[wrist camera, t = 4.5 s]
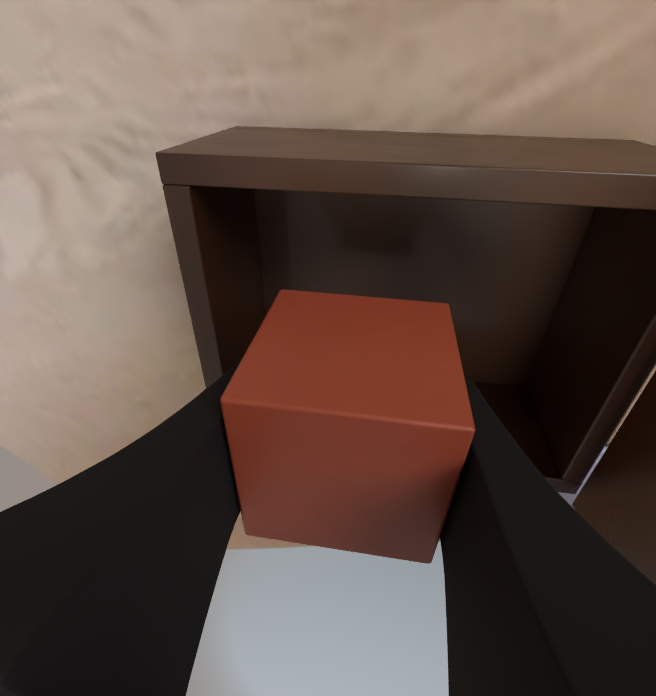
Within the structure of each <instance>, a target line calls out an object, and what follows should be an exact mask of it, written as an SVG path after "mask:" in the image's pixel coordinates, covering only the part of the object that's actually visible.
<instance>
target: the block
mask: <svg viewBox="0 0 656 696" xmlns="http://www.w3.org/2000/svg"><path fill="white" fill-rule="evenodd" d="M220 403H221V408H222V414H223V419H224V424H225V430H226V435H227V440H228V445H229V451H230V456H231V461H232V467H233V472H234V477H235V483H236V488H237V493H238V499H239V504H240V509H241V514H242V520H243V525H244V530H245V534H247V535H250V536H256V537H263V538H269V539H275V540H282V541H288V542H294V543H301V544H307V545H313V546H320V547H327V548H333V549H339V550H346V551H351V552H358V553H364V554H371V555H377V556H383V557H390V558H396V559H402V560H409V561H415V562H421V563H431V561H432V559H433V556H434V553H435V550H436V547H437V543H438V541H439V538H440V535H441V532H442V529H443V526H444V523H445V520H446V517H447V514H448V511H449V508H450V505H451V502H452V499H453V496H454V493H455V490H456V487H457V484H458V481H459V478H460V475H461V472H462V469H463V466H464V463H465V460H466V457H467V454H468V451H469V448H470V445H471V442H472V439H473V436H474V433H475V425H474V421H473V416H472V411H471V407H470V402H469V397H468V392H467V388H466V383H465V378H464V373H463V369H462V364H461V359H460V355H459V350H458V345H457V340H456V336H455V331H454V326H453V322H452V317H451V312H450V307H449V304H447V303H438V302H426V301H414V300H402V299H391V298H379V297H367V296H355V295H344V294H332V293H320V292H308V291H297V290H285V289H282V290H280V291H279V293H278V295H277V297H276V299H275V300H274V302H273V304H272V306H271V308H270V309H269V311H268V313H267V315H266V317H265V319H264V320H263V322H262V324H261V326H260V328H259V329H258V331H257V333H256V335H255V337H254V338H253V340H252V342H251V344H250V346H249V348H248V349H247V351H246V353H245V355H244V357H243V358H242V360H241V362H240V364H239V366H238V367H237V369H236V371H235V373H234V375H233V376H232V378H231V380H230V382H229V384H228V386H227V387H226V389H225V391H224V393H223V395H222V396H221V399H220Z"/></svg>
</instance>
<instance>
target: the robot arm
mask: <svg viewBox="0 0 656 696" xmlns="http://www.w3.org/2000/svg"><path fill="white" fill-rule="evenodd" d="M241 360H242V359H241ZM241 360H240V361H239V362H237V363H236V364H235V365H234V366H233V367H231V368H230V369H229V370H228V371H227V372H226V373H224V374H223V375H222V376H221V377H220V378H219V379H217V380H216V381H215V382H214V383H213V384H211V385H210V386H209V387H208V388H207V389H205V390H204V391H203V392H202V393H200V394H199V395H198V396H197V397H196V398H194V399H193V400H192V401H191V402H189V403H188V404H187V405H185V406H184V407H183V408H181V409H180V410H179V411H177V412H176V413H175V414H173V415H172V416H171V417H169V418H168V419H167V420H165V421H164V422H163V423H161V424H160V425H158V426H157V427H156V428H154V429H153V430H151V431H150V432H148V433H147V434H145V435H144V436H142V437H141V438H139V439H138V440H136V441H134V442H133V443H131V444H129V445H128V446H126V447H125V448H123V449H121V450H120V451H118V452H117V453H115V454H113V455H112V456H110V457H108V458H106V459H105V460H103V461H101V462H99V463H97V464H95V465H94V466H92V467H90V468H88V469H86V470H84V471H83V472H81V473H79V474H77V475H75V476H73V477H72V478H70V479H68V480H66V481H64V482H62V483H60V484H58V485H56V486H54V487H52V488H50V489H48V490H46V491H44V492H42V493H40V494H38V495H36V496H34V497H32V498H30V499H28V500H25V501H23V502H21V503H19V504H17V505H15V506H12V507H10V508H8V509H6V510H4V511H2V512H0V696H186V692H187V688H188V683H189V680H190V676H191V672H192V668H193V664H194V661H195V657H196V653H197V649H198V646H199V642H200V638H201V634H202V631H203V627H204V623H205V619H206V616H207V613H208V609H209V606H210V602H211V599H212V595H213V591H214V588H215V585H216V581H217V578H218V575H219V571H220V568H221V564H222V561H223V558H224V555H225V551H226V548H227V545H228V542H229V539H230V536H231V533H232V531H233V528H234V525H235V522H236V520H237V517H238V515H239V513H240V510H241V509H240V504H239V499H238V493H237V488H236V483H235V477H234V472H233V467H232V461H231V456H230V451H229V445H228V440H227V435H226V430H225V424H224V419H223V414H222V408H221V403H220V399H221V396H222V395H223V393H224V391H225V389H226V387H227V386H228V384H229V382H230V380H231V378H232V376H233V375H234V373H235V371H236V369H237V367H238V366H239V364H240V362H241ZM464 378H465V383H466V388H467V392H468V397H469V402H470V407H471V411H472V416H473V421H474V425H475V433H474V436H473V439H472V442H471V445H470V448H469V451H468V454H467V457H466V460H465V463H464V466H463V469H462V472H461V475H460V478H459V481H458V484H457V487H456V490H455V493H454V496H453V499H452V502H451V505H450V508H449V511H448V514H447V517H446V520H445V523H444V526H443V529H442V532H441V535H440V541H441V547H442V555H443V563H444V564H443V565H444V575H445V595H446V617H447V643H448V644H447V645H448V673H449V674H448V675H449V677H448V678H449V696H656V585H655V584H654V583H653V582H652V581H650V580H649V579H648V578H647V577H646V576H645V575H643V574H642V573H641V572H640V571H639V570H638V569H637V568H636V567H634V566H633V565H632V564H631V563H630V562H629V561H628V560H627V559H626V558H625V557H623V556H622V555H621V554H620V553H619V552H618V551H617V550H616V549H615V548H614V547H612V546H611V545H610V544H609V543H608V542H607V541H606V540H605V539H604V538H603V537H602V536H601V535H600V534H599V533H598V532H596V531H595V530H594V529H593V528H592V527H591V526H590V525H589V524H588V523H587V522H586V521H585V520H584V519H583V518H582V517H581V516H580V515H579V514H578V513H577V512H576V511H575V509H574V508H573V506H572V503H573V502H574V500H575V498H576V497H577V495H578V494H579V492H580V491H581V489H582V487H583V486H584V484H585V483H586V481H587V479H588V478H589V476H590V475H591V473H592V471H593V470H594V468H595V467H596V465H597V463H598V462H599V460H600V459H601V457H602V456H603V454H604V452H605V451H606V449H607V448H608V447H606V446H605V447H604V449H603V450H602V452H601V454H600V455H599V457H598V458H597V460H596V462H595V463H594V465H593V466H592V468H591V470H590V471H589V473H588V474H587V476H586V478H585V479H584V481H583V483H582V485H581V486H580V488H579V490H578V491H577V493H576V494H568V493H560V492H557V491H556V490H555V489H554V487H553V486H552V485H551V484H550V483H549V482H548V481H547V480H546V478H545V477H544V476H543V475H542V474H541V473H540V471H539V470H538V469H537V468H536V467H535V465H534V464H533V463H532V462H531V461H530V459H529V458H528V457H527V456H526V454H525V453H524V452H523V451H522V449H521V448H520V447H519V446H518V444H517V443H516V442H515V440H514V439H513V438H512V436H511V435H510V434H509V432H508V431H507V430H506V429H505V427H504V426H503V424H502V423H501V422H500V420H499V419H498V418H497V416H496V415H495V413H494V412H493V410H492V409H491V408H490V406H489V405H488V403H487V402H486V400H485V399H484V397H483V396H482V394H481V393H480V391H479V390H478V388H477V387H476V386H475V384H474V383H473V381H472V380H471V379H470V377H467V376H464Z"/></svg>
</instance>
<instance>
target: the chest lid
mask: <svg viewBox="0 0 656 696" xmlns="http://www.w3.org/2000/svg"><path fill="white" fill-rule="evenodd" d="M572 506H573V508H574V509H575V511H576V512H577V513H578V514H579V515H580V516H581V517H582V518H583V519H584V520H585V521H586V522H587V523H588V524H589V525H590V526H591V527H592V528H593V529H594V530H595V531H596V532H598V533H599V534H600V535H601V536H602V537H603V538H604V539H605V540H606V541H607V542H608V543H609V544H610V545H611V546H612V547H614V548H615V549H616V550H617V551H618V552H619V553H620V554H621V555H622V556H623V557H625V558H626V559H627V560H628V561H629V562H630V563H631V564H632V565H633V566H634V567H636V568H637V569H638V570H639V571H640V572H641V573H642V574H643V575H645V576H646V577H647V578H648V579H649V580H650V581H652V582H653V583H654V584H655V585H656V371H655V373H654V375H653V376H652V378H651V379H650V381H649V382H648V384H647V386H646V387H645V389H644V390H643V392H642V394H641V395H640V397H639V398H638V400H637V402H636V403H635V405H634V406H633V408H632V409H631V411H630V413H629V414H628V416H627V417H626V419H625V421H624V422H623V424H622V425H621V427H620V429H619V430H618V432H617V433H616V435H615V436H614V438H613V440H612V441H611V443H610V444H609V446H608V448H607V449H606V451H605V452H604V454H603V456H602V457H601V459H600V460H599V462H598V463H597V465H596V467H595V468H594V470H593V471H592V473H591V475H590V476H589V478H588V479H587V481H586V483H585V484H584V486H583V487H582V489H581V491H580V492H579V494H578V495H577V497H576V498H575V500H574V502H573V503H572Z"/></svg>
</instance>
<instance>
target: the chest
mask: <svg viewBox="0 0 656 696" xmlns="http://www.w3.org/2000/svg"><path fill="white" fill-rule="evenodd" d="M156 158H157V163H158V167H159V172H160V177H161V181H162V184H164V185H163V190H164V194H165V199H166V204H167V208H168V213H169V218H170V222H171V227H172V232H173V236H174V241H175V246H176V250H177V255H178V260H179V264H180V269H181V274H182V278H183V283H184V288H185V292H186V297H187V302H188V306H189V311H190V316H191V320H192V325H193V330H194V334H195V339H196V344H197V348H198V353H199V358H200V362H201V367H202V372H203V376H204V381H205V385H206V389H207V388H208V387H209V386H210V385H211V384H213V383H214V382H215V381H216V380H217V379H219V378H220V377H221V376H222V375H223V374H224V373H226V372H227V371H228V370H229V369H230V368H231V367H233V366H234V365H235V364H236V363H237V362H239V361H240V360H241V359H242V358H243V357H244V355H245V353H246V351H247V349H248V348H249V346H250V344H251V342H252V340H253V338H254V337H255V335H256V333H257V331H258V329H259V328H260V326H261V324H262V322H263V320H264V319H265V317H266V315H267V313H268V311H269V309H270V308H271V306H272V304H273V302H274V300H275V299H276V297H277V295H278V293H279V291H280V290H282V289H285V290H297V291H308V292H320V293H332V294H344V295H355V296H367V297H379V298H391V299H402V300H414V301H426V302H438V303H447V304H449V307H450V312H451V317H452V322H453V326H454V331H455V336H456V340H457V345H458V350H459V355H460V359H461V364H462V369H463V373H464V376H467V377H470V379H471V380H472V381H473V383H474V384H475V386H476V387H477V388H478V390H479V391H480V393H481V394H482V396H483V397H484V399H485V400H486V402H487V403H488V405H489V406H490V408H491V409H492V410H493V412H494V413H495V415H496V416H497V418H498V419H499V420H500V422H501V423H502V424H503V426H504V427H505V429H506V430H507V431H508V432H509V434H510V435H511V436H512V438H513V439H514V440H515V442H516V443H517V444H518V446H519V447H520V448H521V449H522V451H523V452H524V453H525V454H526V456H527V457H528V458H529V459H530V461H531V462H532V463H533V464H534V465H535V467H536V468H537V469H538V470H539V471H540V473H541V474H542V475H543V476H544V477H545V478H546V480H547V481H548V482H549V483H550V484H551V485H552V486H553V487H554V489H555V490H556V491H557V492H560V493H568V494H576V493H577V491H578V490H579V488H580V486H581V485H582V483H583V481H584V479H585V478H586V476H587V474H588V473H589V471H590V470H591V468H592V466H593V465H594V463H595V462H596V460H597V458H598V457H599V455H600V454H601V452H602V450H603V449H604V447H605V446H606V444H607V442H608V441H609V439H610V438H611V436H612V434H613V433H614V431H615V429H616V428H617V426H618V425H619V423H620V421H621V420H622V418H623V417H624V415H625V413H626V412H627V410H628V409H629V407H630V405H631V404H632V402H633V401H634V399H635V397H636V396H637V394H638V393H639V391H640V389H641V388H642V386H643V384H644V383H645V381H646V380H647V378H648V376H649V375H650V373H651V372H652V370H653V368H654V367H655V365H656V146H653V145H649V144H644V143H641V142H638V141H635V140H610V139H582V138H553V137H525V136H497V135H468V134H440V133H411V132H383V131H355V130H326V129H298V128H269V127H241V126H236V127H233V128H230V129H226V130H223V131H220V132H217V133H214V134H211V135H208V136H205V137H202V138H199V139H196V140H193V141H190V142H186V143H183V144H180V145H177V146H174V147H171V148H168V149H165V150H162V151H159V152H156Z"/></svg>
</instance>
